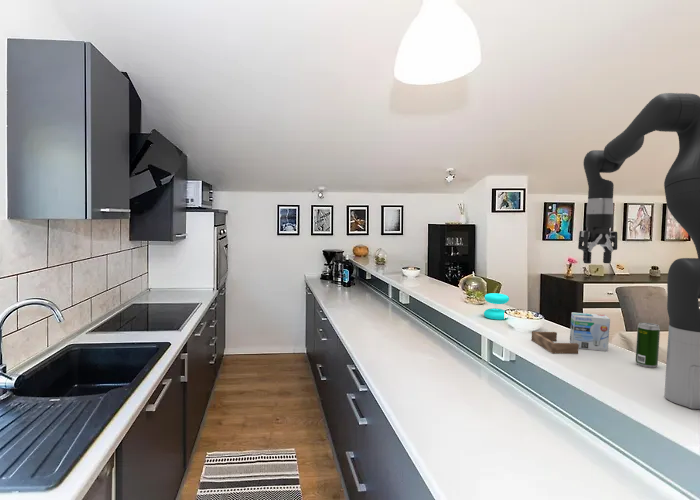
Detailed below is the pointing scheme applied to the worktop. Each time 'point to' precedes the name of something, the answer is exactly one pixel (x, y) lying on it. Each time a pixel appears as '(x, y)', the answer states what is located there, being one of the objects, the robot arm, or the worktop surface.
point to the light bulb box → (590, 331)
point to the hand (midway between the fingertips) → (597, 263)
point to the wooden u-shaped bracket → (546, 342)
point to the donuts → (495, 299)
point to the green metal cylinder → (647, 345)
